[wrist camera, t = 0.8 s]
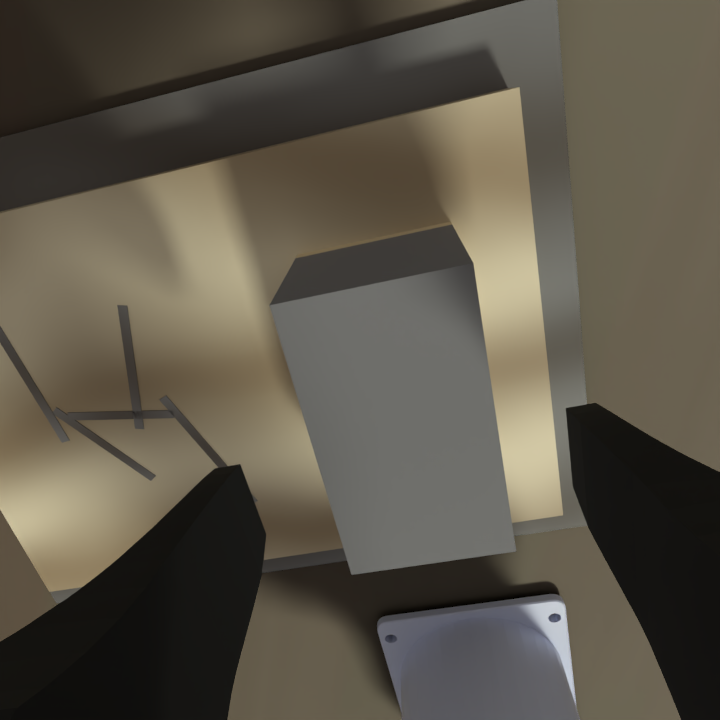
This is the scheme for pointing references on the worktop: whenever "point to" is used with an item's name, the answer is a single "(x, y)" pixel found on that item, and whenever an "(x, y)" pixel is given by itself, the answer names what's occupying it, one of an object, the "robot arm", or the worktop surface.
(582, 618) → the worktop surface
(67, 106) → the worktop surface
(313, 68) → the pine board
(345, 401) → the block
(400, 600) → the worktop surface
